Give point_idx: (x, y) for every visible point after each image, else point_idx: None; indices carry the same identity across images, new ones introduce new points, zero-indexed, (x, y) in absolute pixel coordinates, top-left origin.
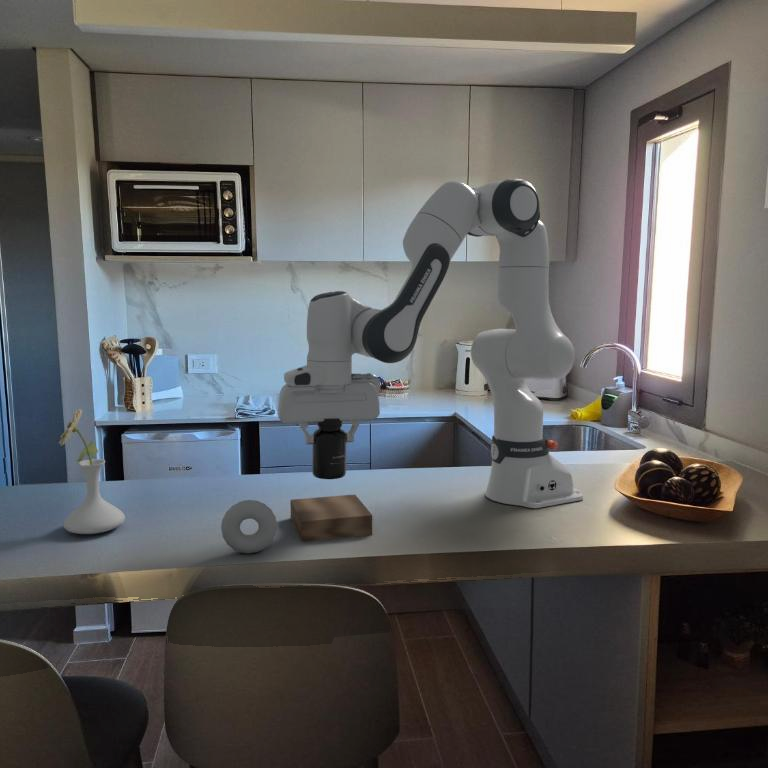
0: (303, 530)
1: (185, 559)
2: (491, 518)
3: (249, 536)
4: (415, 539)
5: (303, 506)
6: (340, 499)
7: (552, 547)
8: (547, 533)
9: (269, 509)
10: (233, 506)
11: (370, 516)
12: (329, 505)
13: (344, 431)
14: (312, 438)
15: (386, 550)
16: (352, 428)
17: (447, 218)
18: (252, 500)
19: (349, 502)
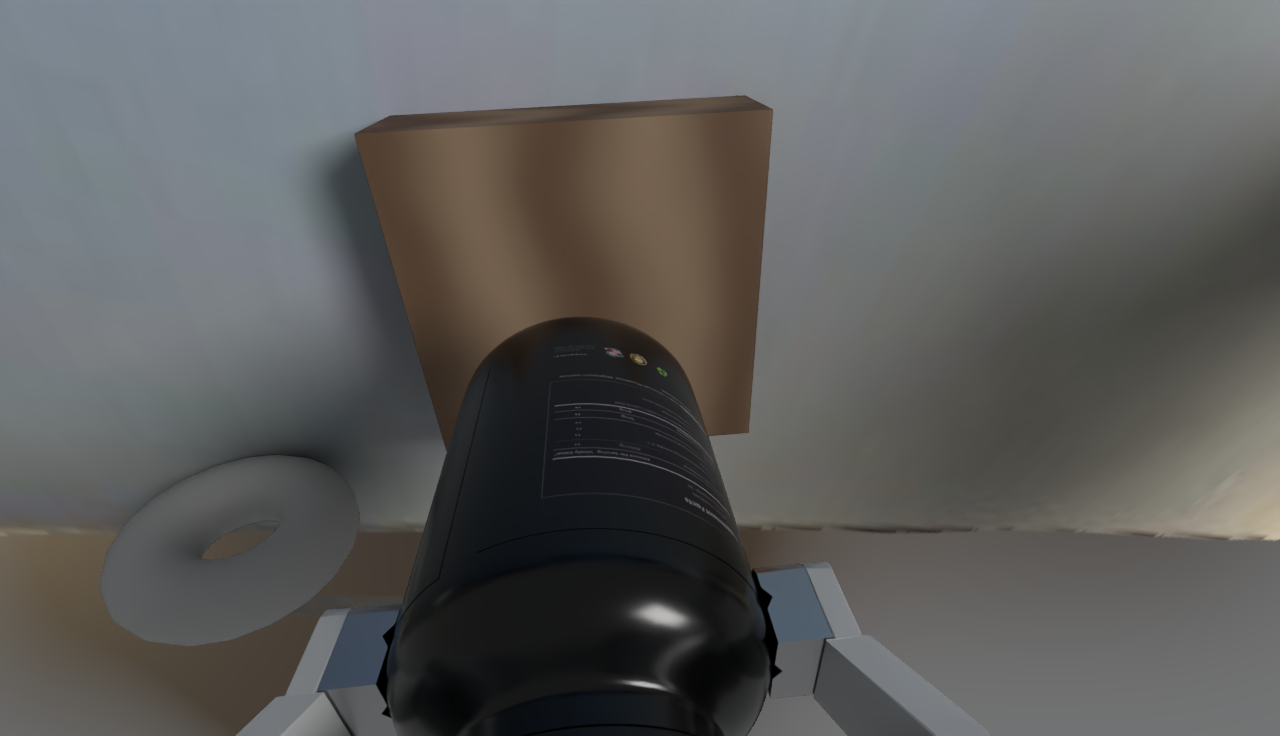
0: None
1: (71, 482)
2: (1234, 304)
3: (261, 514)
4: (852, 440)
5: (447, 276)
6: (662, 195)
7: (1156, 532)
8: (1247, 454)
9: (297, 602)
10: (121, 625)
11: (739, 430)
12: (586, 286)
13: (758, 714)
14: None
15: (731, 499)
16: (868, 727)
17: None
18: (194, 632)
19: (699, 256)
